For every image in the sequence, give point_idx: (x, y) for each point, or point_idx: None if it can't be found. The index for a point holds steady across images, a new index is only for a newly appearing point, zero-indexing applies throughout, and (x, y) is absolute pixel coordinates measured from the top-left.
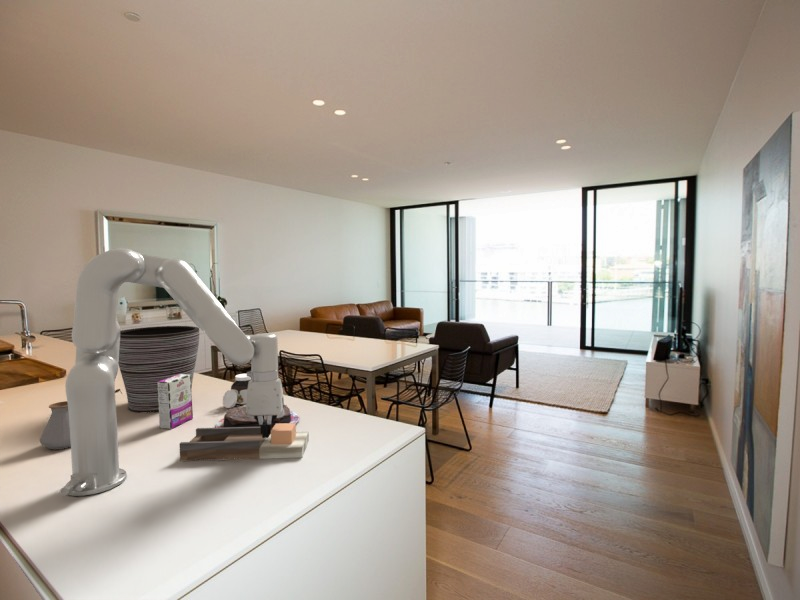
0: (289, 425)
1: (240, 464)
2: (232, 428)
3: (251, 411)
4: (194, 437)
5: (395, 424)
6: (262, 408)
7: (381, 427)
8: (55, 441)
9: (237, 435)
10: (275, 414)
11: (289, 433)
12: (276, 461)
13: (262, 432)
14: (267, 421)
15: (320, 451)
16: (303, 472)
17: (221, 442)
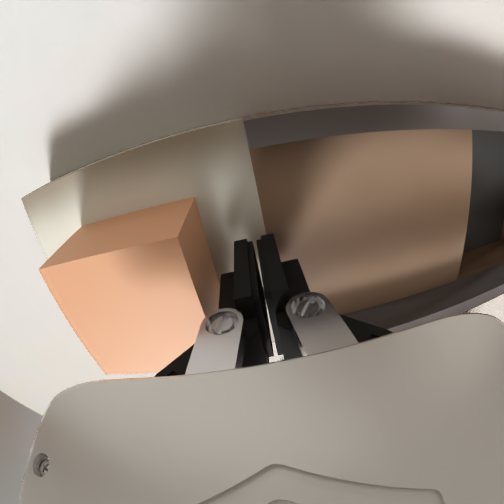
0: (110, 345)
1: (312, 47)
2: (462, 301)
3: (476, 354)
4: None
5: (22, 400)
6: (297, 470)
7: (28, 393)
8: None
9: (428, 281)
10: (94, 381)
11: (58, 254)
12: (134, 108)
13: (276, 251)
14: (237, 328)
15: (28, 251)
16: (5, 68)
17: (478, 109)
